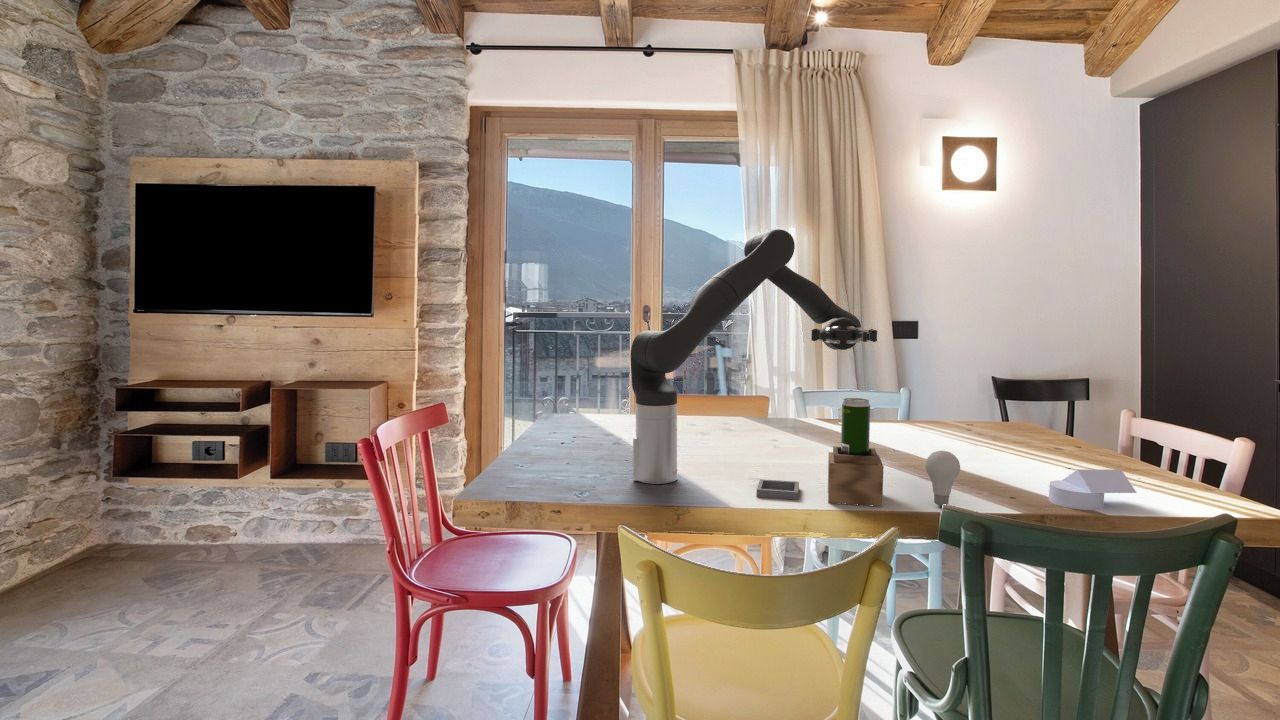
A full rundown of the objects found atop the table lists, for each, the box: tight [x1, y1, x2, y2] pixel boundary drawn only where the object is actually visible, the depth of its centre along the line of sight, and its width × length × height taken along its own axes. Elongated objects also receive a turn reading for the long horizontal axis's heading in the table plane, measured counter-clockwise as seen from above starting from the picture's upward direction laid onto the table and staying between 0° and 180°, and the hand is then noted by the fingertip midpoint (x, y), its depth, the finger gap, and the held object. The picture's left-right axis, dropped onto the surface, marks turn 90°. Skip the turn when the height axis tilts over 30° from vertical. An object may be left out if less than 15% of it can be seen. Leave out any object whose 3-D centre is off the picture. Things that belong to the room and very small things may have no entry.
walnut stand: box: [827, 445, 884, 507], centre depth 134 cm, size 10×10×10 cm
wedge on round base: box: [1048, 469, 1138, 511], centre depth 130 cm, size 9×7×13 cm
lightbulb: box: [925, 450, 961, 508], centre depth 128 cm, size 6×6×11 cm
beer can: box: [840, 397, 871, 456], centre depth 133 cm, size 5×5×12 cm
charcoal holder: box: [756, 478, 800, 501], centre depth 138 cm, size 8×8×2 cm
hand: (844, 336), depth 145 cm, fingers open, 8 cm apart
